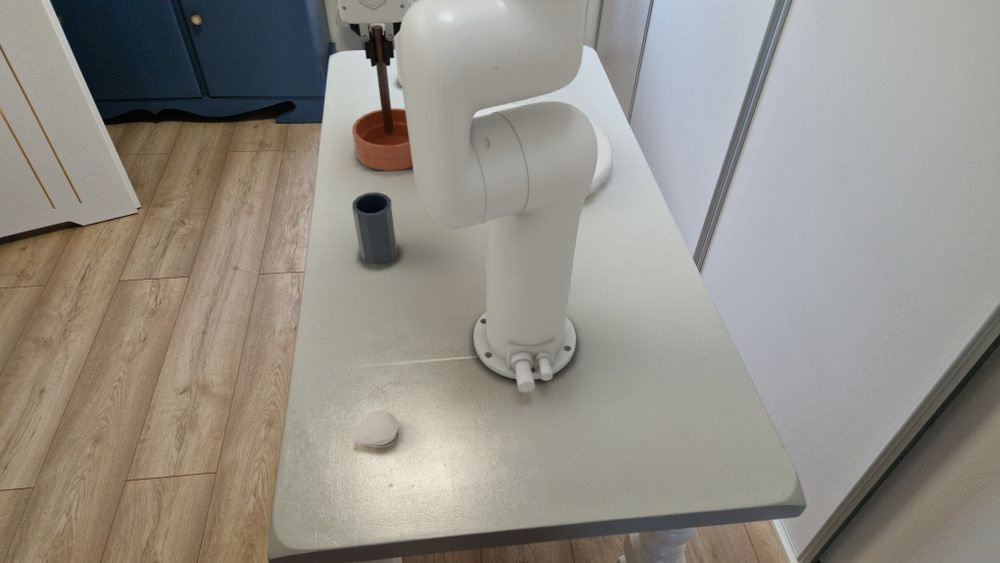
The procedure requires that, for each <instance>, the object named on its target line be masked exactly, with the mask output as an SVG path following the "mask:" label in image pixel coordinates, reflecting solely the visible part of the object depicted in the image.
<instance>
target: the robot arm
mask: <svg viewBox="0 0 1000 563" xmlns="http://www.w3.org/2000/svg"><path fill="white" fill-rule="evenodd" d="M337 7H338V8H337V13H336V17H335V24H336V25H337V26H338V27H343V28H346V29H350V30H351V31H352V32H353V33H354V34H356V35H357V36H358V37H359V38H360V39H361V41H363V46H364V52H365V59H366V60H370V66H371V67H373V68H374V67H376V57H375V49H374V41H373V35H372V30H370V29H371V28H370V24H384V31H383V47H384V56H385V65H387V67H390V66H391V59H395V50H394V49H395V47H394V36H395V35H396V34H397V33H398V32H399V31H400V32H399V42H398V52H399V65H400V75H401V82H402V86H401V89H402V97H403V105H404V109H405V112H406V119H407V127H408V134H409V141H410V149H411V157H412V164H413V166H412V170H413V176H414V182H415V188H416V191H417V194H418V198H419V201H420V204H421V206H422V208H423V210H424V212H425V214H426V215H427V217H428V218H429V220H430V221H432V222H433V224H435V225H436V226H438V227H440V228H443V229H447V230H460V229H465V228H470V227H473V226H477V225H481V224H485V223H487V228H486V289H485V290H486V301H485V304H486V306H485V308H486V309H485V311H484V312H483V313H482V314H481V315H480V316H479V318H478V319H477V321H476V322H475V325H474V329H473V346H474V349H475V352H476V354H477V357H478V358H479V360H480V361H481V362H482V363H483V364H484V365H485V366H486V367H487V368H488V369H490V370H491V371H493V372H494V373H496V374H498V375H500V376H503V377H505V378H509V379H514V380H516V385H517V390H518V391H519V392H520V393H523V394H524V393H530V392H533V391H534V390H535V388H536V383H535V380H542V381H546V382H547V381H550V380H552V379H553V378H554V375H555V374H556V373H558V372H560V371H561V370H562V369H564V368H565V367H567V365H568V363H569V362H570V361H571V360H572V358H573V356H574V354H575V350H576V345H577V332H576V329H575V327H574V324H573V323H572V321H571V320H570V318H569V317H568V316H567V314H568V306H569V300H570V299H569V298H570V290H571V281H572V274H573V268H574V267H573V266H574V258H575V253H576V252H575V251H576V246H577V236H578V231H579V230H578V229H579V226H580V225H579V224H580V219H581V215H582V211H583V208H584V205H585V203H586V202H585V201H586V199H587V196H588V195H589V194H588V191H589V189H590V186H591V183H592V181H593V178H594V174H595V170H596V165H597V158H598V145H597V138H596V134H595V131H594V128H593V126H592V124H591V122H592V121H591V120H590V119H589V117H588V116H587V115H586V114H585V113H584V112H583V111H582V110H581V109H579V108H578V107H576V106H575V105H572V104H569V103H567V102H562V101H553V100H551V101H540V102H538V101H537V102H533V103H526V104H527V105H523V106H518V107H514V108H510V109H505V110H501V111H497V112H493V113H491V114H487V115H483V116H479V117H475V118H473V116H474V114H475V113H476V112H477V111H479V110H483V109H487V108H491V107H495V106H499V105H504V104H512V103H518V102H521V101H525V100H529V99H534V98H538V97H541V96H545V95H548V94H551V93H554V92H557V91H559V90H562V89H563V88H565V87H567V86H569V85H570V84H572V82H573V81H574V80H575V79H576V77H577V76H578V73H579V72H580V68H581V65H582V61H583V53H584V42H585V23H586V22H585V19H586V18H585V17H586V0H418V1H417V2H415V3H414V4H413V5H412V6H411V5H410V3H409V0H337ZM589 120H590V121H591V122H590V121H589ZM587 194H588V195H587Z"/></svg>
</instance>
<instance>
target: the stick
mask: <svg viewBox="0 0 1000 563" xmlns="http://www.w3.org/2000/svg"><path fill="white" fill-rule="evenodd" d="M383 30H384V29H383V26H382V25H380V24H375V25H374V24H373V25H372V26H371V32H372V35H373V41H374V49H375V57H376V66H375V67H376V75H377V76H376V77H377V83H378V93H379V100H380V108H381V109H380V110H382V117H383V126H384V132H385V133H386V134H392V133H393V132H394V129H393V120H392V111H391V109H392V104H391V94H390V85H389V74H388V68H387V67H388V66H387V65H385V56H384V47H383V35H384V31H383Z"/></svg>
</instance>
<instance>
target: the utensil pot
mask: <svg viewBox="0 0 1000 563" xmlns="http://www.w3.org/2000/svg"><path fill="white" fill-rule="evenodd" d="M351 208H352V213H353V220H354V225H355V231H356V236H357V242H358V243H357V244H358V248H359V253H360V257H361V259H362V260H363V261H364V262H365V263H367V264H370V265H375V266H376V265H385V264H387V263H390V262H391V261H393V260H394V259H395V257H396V256H397V254H398V246H397V239H396V229H395V221H394V213H393V204H392V199H391V198H390V197H389V196H388V195H387V194H385V193H381V192H377V191H374V192H366V193H363V194H360V195H358V196H357V197H356V198H355V199H354V200H353V201H352V206H351Z"/></svg>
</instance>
